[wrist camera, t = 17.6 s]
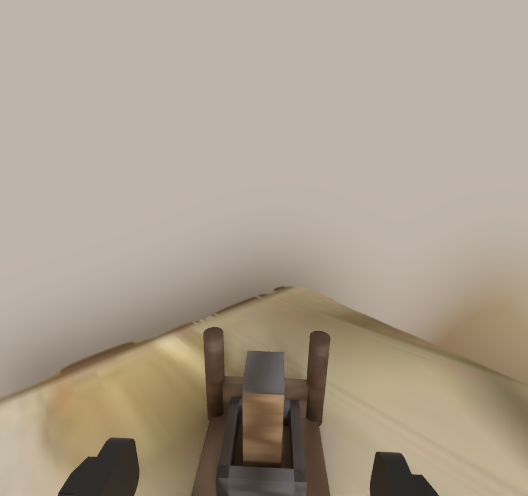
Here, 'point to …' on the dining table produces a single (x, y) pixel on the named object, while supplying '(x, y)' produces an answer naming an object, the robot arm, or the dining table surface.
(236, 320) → the dining table surface
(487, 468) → the dining table surface
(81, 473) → the robot arm
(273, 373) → the brown wooden block
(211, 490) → the board
